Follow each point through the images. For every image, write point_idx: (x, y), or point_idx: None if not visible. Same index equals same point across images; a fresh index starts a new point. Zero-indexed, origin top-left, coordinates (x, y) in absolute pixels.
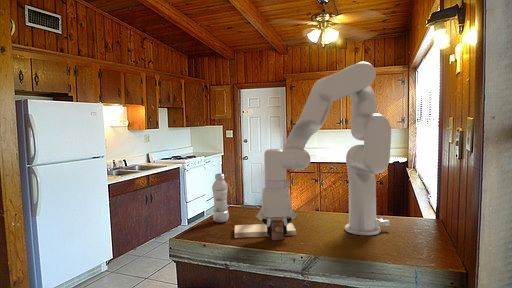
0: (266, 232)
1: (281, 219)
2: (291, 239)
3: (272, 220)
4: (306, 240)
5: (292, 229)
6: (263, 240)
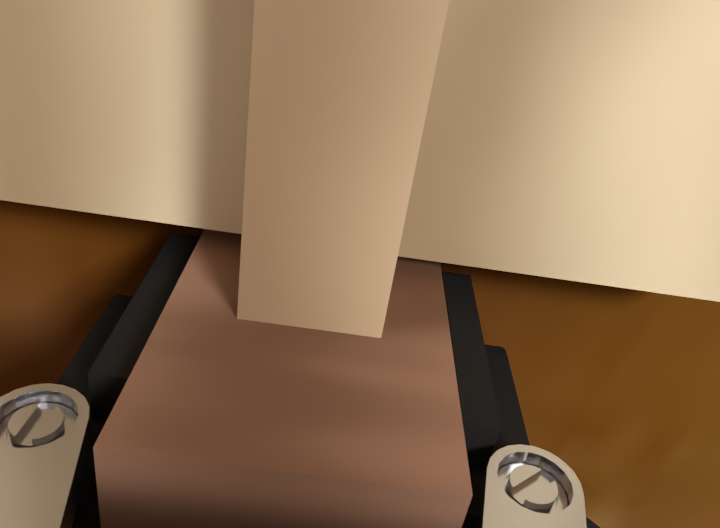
0: (109, 202)
1: (456, 511)
2: (527, 392)
3: (153, 525)
4: (713, 470)
5: (716, 237)
6: (79, 327)
